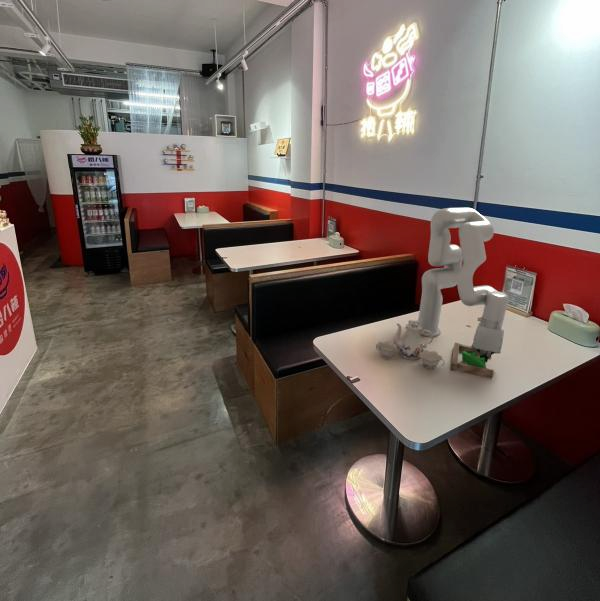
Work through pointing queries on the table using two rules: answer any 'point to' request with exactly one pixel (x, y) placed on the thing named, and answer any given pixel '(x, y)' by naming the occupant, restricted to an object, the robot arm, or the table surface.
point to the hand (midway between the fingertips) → (482, 363)
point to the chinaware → (410, 346)
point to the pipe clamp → (473, 359)
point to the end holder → (465, 367)
